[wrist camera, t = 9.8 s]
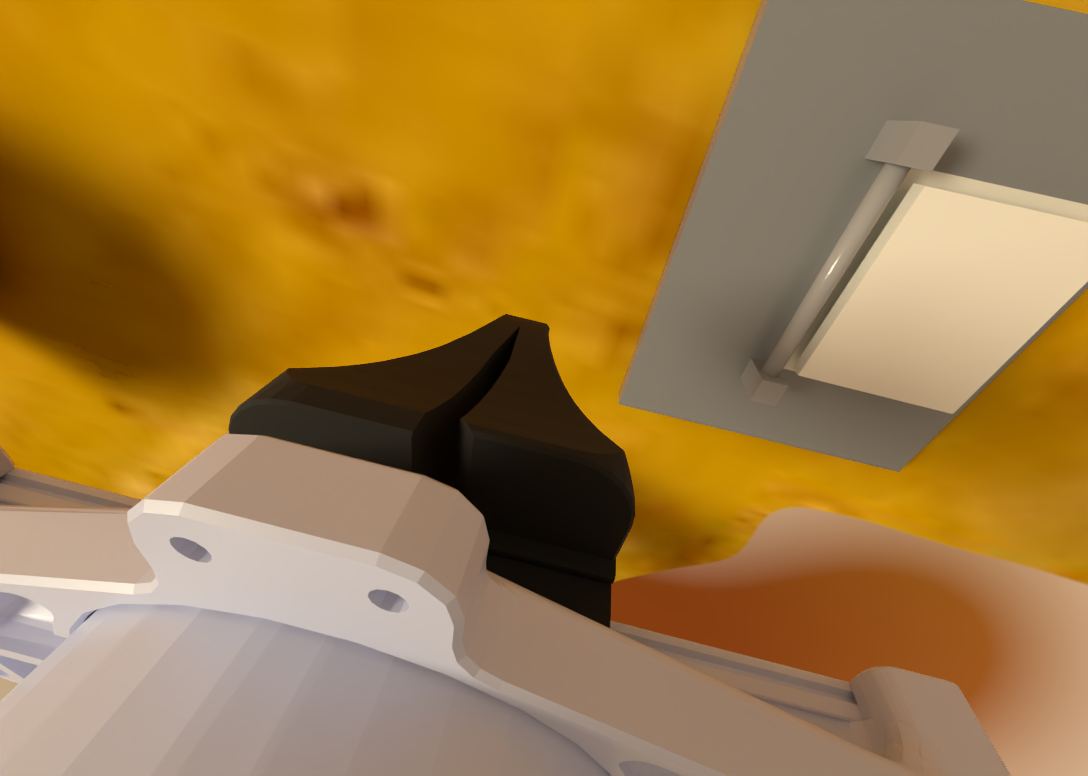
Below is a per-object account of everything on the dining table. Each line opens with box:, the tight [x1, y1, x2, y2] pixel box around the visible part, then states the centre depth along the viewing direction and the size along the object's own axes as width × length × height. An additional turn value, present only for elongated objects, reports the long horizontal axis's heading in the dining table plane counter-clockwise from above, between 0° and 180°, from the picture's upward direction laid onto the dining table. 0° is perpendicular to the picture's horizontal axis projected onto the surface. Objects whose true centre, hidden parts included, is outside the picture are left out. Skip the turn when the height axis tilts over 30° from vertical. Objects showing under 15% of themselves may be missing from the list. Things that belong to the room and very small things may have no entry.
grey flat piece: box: [619, 0, 1088, 472], centre depth 17 cm, size 18×16×3 cm
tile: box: [793, 183, 1088, 414], centre depth 16 cm, size 8×7×1 cm
